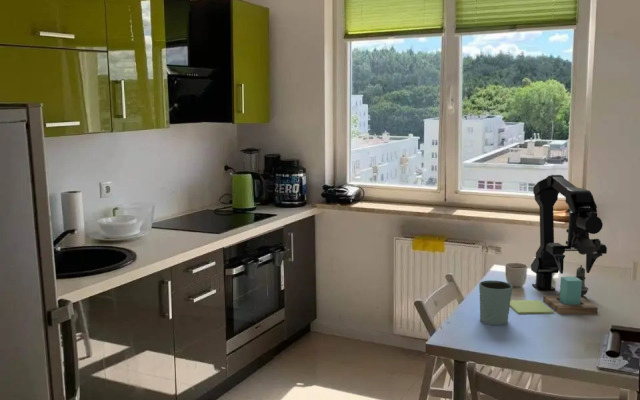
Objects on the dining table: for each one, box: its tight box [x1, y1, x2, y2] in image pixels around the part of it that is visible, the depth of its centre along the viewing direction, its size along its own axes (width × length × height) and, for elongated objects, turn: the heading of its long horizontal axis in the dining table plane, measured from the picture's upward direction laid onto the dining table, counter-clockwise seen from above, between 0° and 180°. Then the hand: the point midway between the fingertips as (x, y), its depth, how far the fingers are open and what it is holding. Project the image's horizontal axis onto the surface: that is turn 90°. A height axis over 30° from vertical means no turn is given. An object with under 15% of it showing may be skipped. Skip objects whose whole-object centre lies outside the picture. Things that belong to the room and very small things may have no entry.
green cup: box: [478, 279, 513, 327], centre depth 201 cm, size 10×10×12 cm
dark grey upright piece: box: [575, 264, 589, 300], centre depth 225 cm, size 6×6×12 cm
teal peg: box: [559, 276, 582, 305], centre depth 215 cm, size 5×5×10 cm
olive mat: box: [510, 299, 555, 315], centre depth 215 cm, size 12×12×1 cm
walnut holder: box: [542, 295, 599, 315], centre depth 216 cm, size 13×13×2 cm
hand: (574, 273), depth 214 cm, fingers open, 9 cm apart
